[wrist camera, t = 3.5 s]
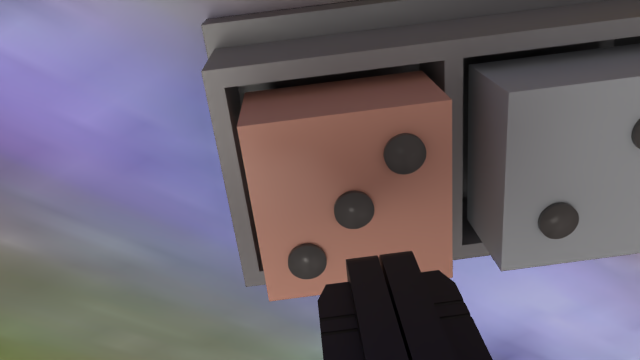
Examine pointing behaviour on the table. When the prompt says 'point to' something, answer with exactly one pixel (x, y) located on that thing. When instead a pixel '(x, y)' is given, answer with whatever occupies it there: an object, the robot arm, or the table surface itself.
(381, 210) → the coral tile
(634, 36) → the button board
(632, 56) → the slate tile
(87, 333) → the table surface
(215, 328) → the table surface
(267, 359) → the table surface
